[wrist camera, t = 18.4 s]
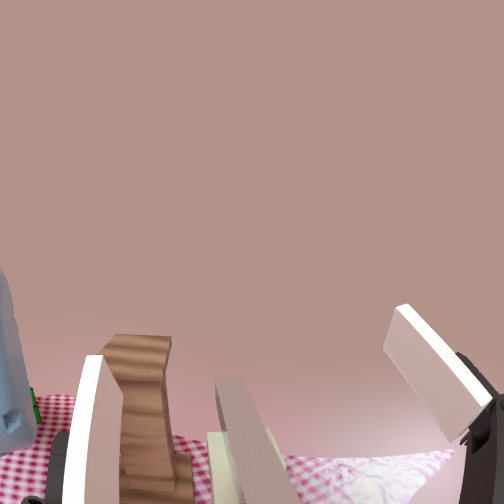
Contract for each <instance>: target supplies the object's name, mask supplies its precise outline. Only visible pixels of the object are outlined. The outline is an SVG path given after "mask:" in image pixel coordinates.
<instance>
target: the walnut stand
mask: <svg viewBox="0 0 504 504" xmlns="http://www.w3.org/2000/svg"><path fill="white" fill-rule="evenodd" d="M171 344H172V342H171V336H148V335H127V334H116V335H115V336H114V337H113V338H112V339H111V340H110V341H109V342H108V343H107V345H106V346H105V347H104V348H103V349H102V350H101V351H100V352H99V353H98V354H97V355H103V357H104V359H105V361H106V363H107V365H108V367H109V369H110V371H111V373H112V375H113V377H114V379H115V380H116V382H117V384H118V386H119V388H120V390H121V392H122V393H123V405H122V417H121V432H120V453H121V457H122V462H121V466H120V469H119V504H194V493H193V477H192V459H191V454H174V448H173V441H172V434H171V426H170V417H169V408H168V398H167V387H166V375H165V373H166V368H167V363H168V358H169V353H170V349H171Z"/></svg>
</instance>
